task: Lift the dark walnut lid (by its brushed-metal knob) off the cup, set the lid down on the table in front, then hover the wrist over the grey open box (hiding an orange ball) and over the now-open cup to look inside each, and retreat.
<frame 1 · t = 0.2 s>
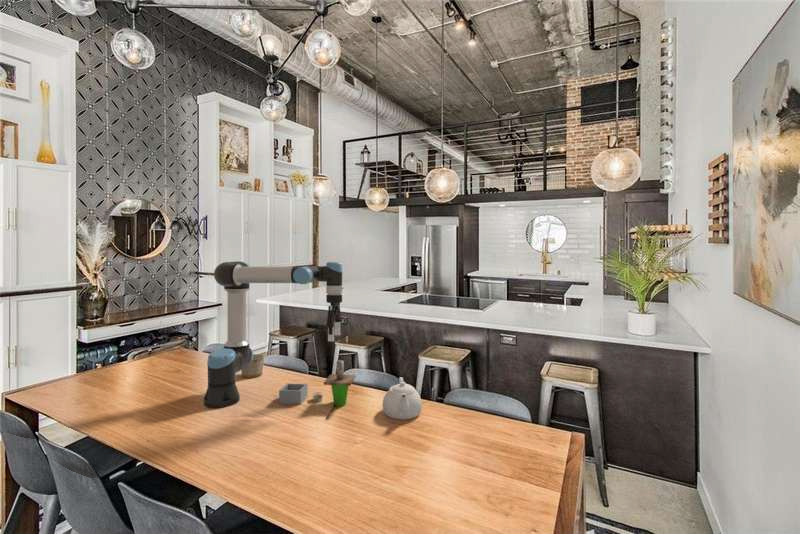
hand: (334, 338, 191), 28 cm above the table, fingers open, 13 cm apart
lid: (340, 380, 181), point 11 cm above the table, touching cup
planter: (252, 375, 224), on the table
maple block: (317, 402, 184), on the table
grey open box: (293, 402, 184), on the table
teapot: (402, 412, 173), on the table
cup: (339, 405, 181), on the table, touching lid
ball: (293, 399, 184), point 1 cm above the table, touching grey open box
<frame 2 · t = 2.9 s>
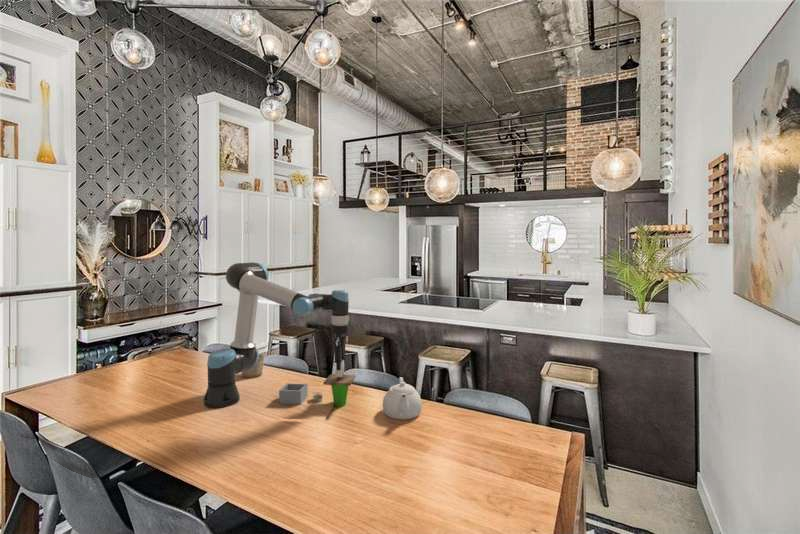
hand: (340, 375, 181), 14 cm above the table, fingers closed on lid, 3 cm apart
lid: (340, 380, 181), point 11 cm above the table, touching cup, gripper
everything else where it was.
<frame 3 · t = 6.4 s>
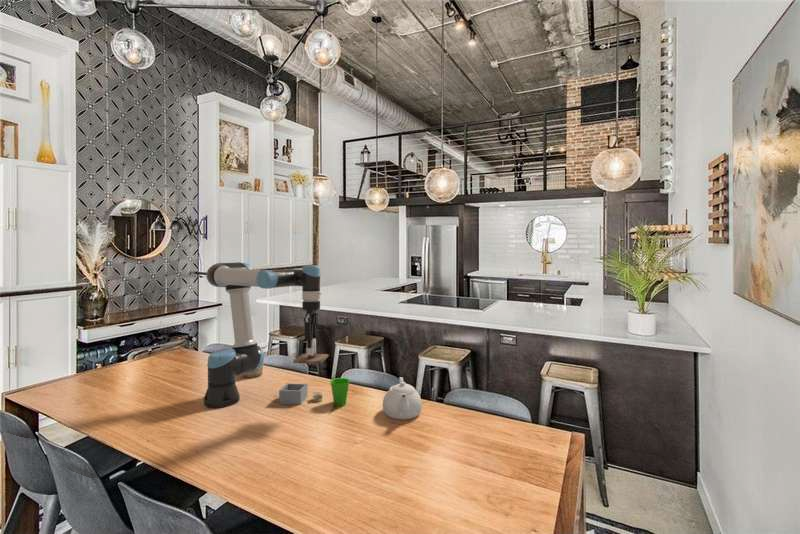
hand: (311, 353, 173), 25 cm above the table, fingers closed on lid, 3 cm apart
lid: (311, 359, 174), point 23 cm above the table, touching gripper
cup: (339, 405, 181), on the table
everything else where it was.
when the fingers open (5 cm above the table, at t = 10.1 s): lid drops 2 cm, on the table.
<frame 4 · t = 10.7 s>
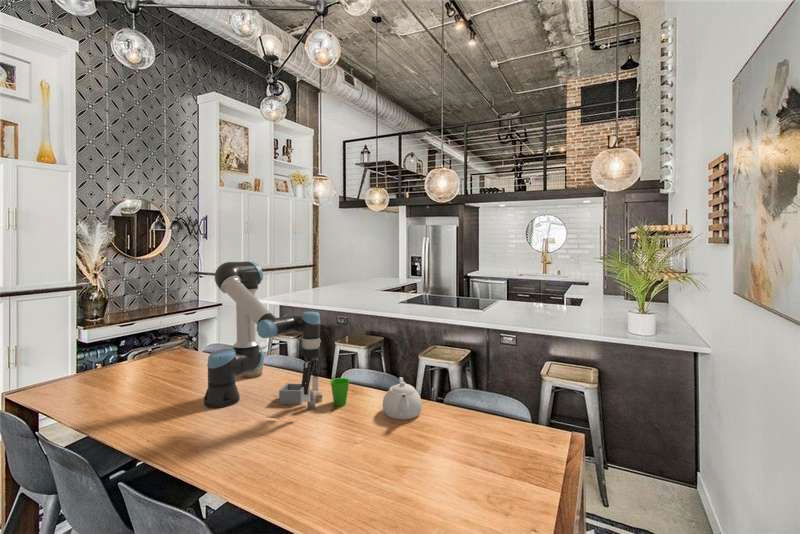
hand: (311, 396, 174), 6 cm above the table, fingers open, 12 cm apart
lid: (311, 411, 174), on the table
everything else where it was.
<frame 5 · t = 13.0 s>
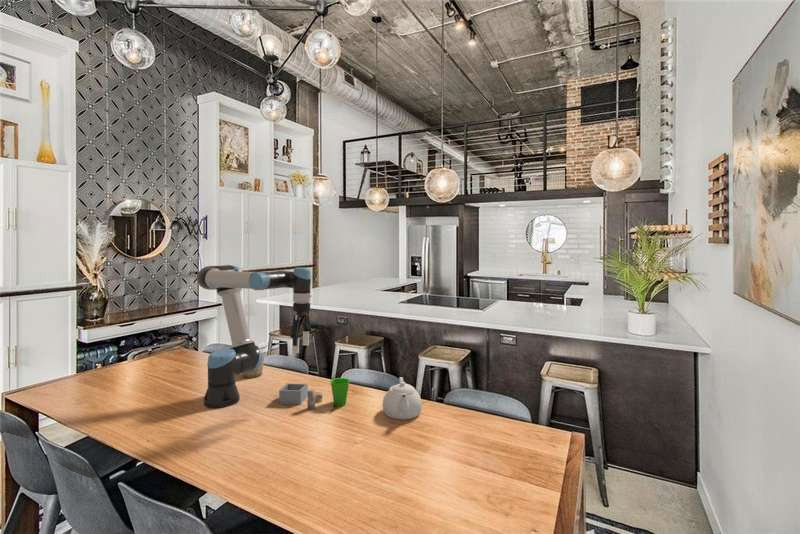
hand: (300, 349, 179), 26 cm above the table, fingers open, 13 cm apart
nothing on the table moved.
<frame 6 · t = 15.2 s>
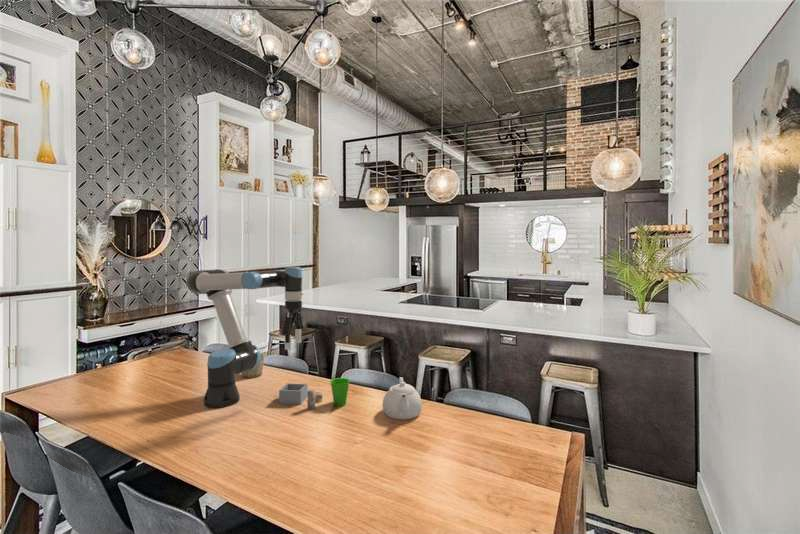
hand: (293, 346, 183), 26 cm above the table, fingers open, 13 cm apart
nothing on the table moved.
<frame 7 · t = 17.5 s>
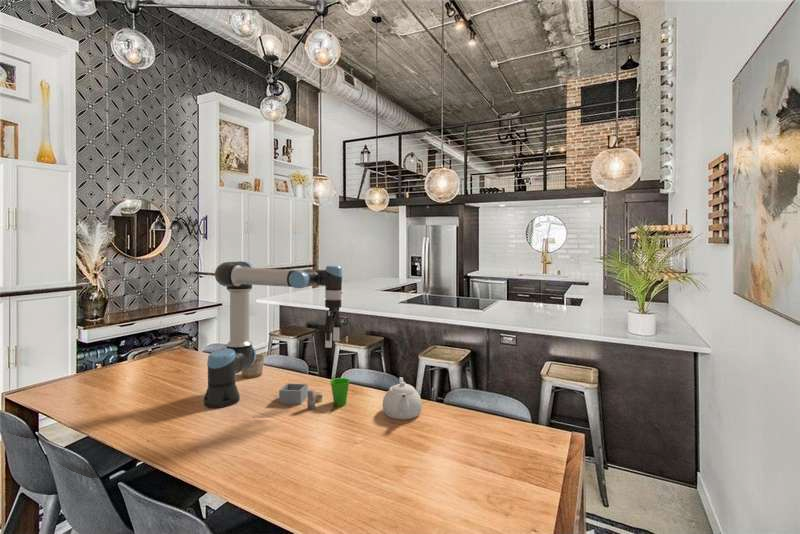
hand: (332, 344, 186), 27 cm above the table, fingers open, 13 cm apart
nothing on the table moved.
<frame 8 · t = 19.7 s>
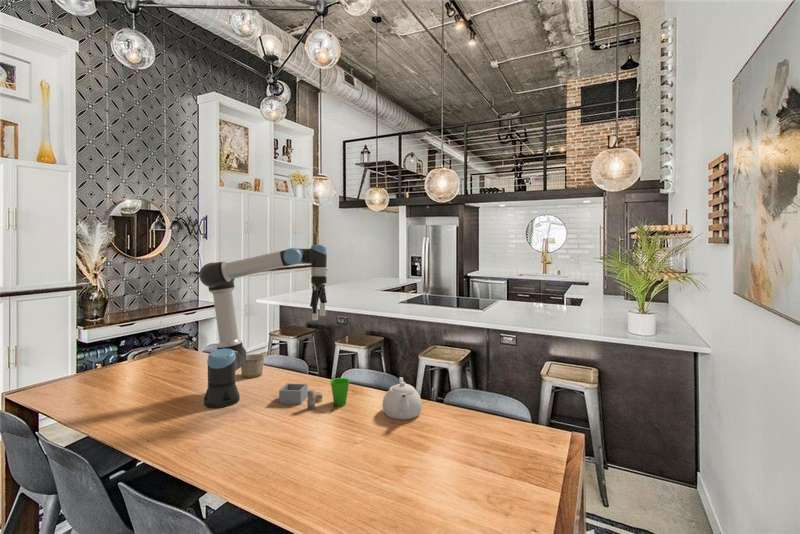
hand: (318, 317, 199), 37 cm above the table, fingers open, 13 cm apart
nothing on the table moved.
at the end: lid inside the target area (0.0 cm from its centre), on the table; lid tilted 0°; cup moved 0.2 cm from its start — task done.
